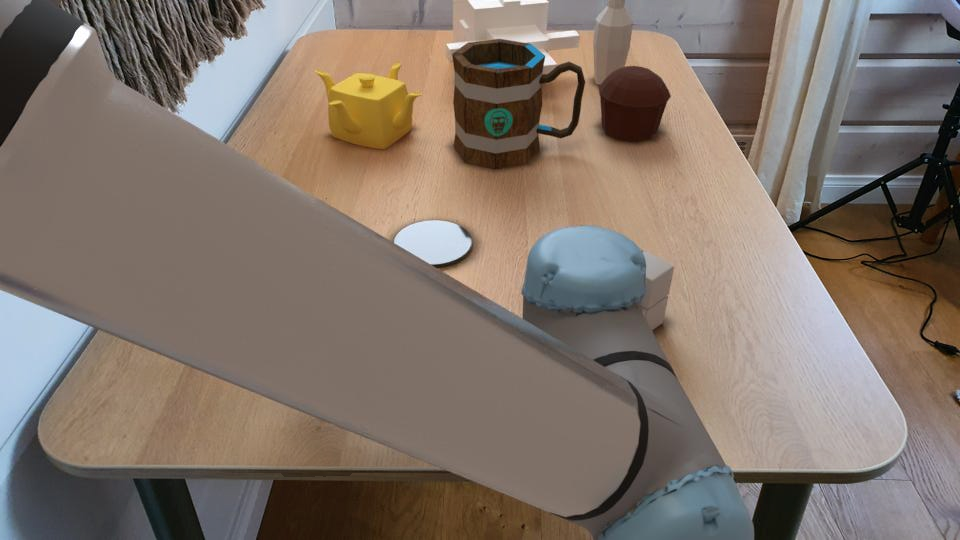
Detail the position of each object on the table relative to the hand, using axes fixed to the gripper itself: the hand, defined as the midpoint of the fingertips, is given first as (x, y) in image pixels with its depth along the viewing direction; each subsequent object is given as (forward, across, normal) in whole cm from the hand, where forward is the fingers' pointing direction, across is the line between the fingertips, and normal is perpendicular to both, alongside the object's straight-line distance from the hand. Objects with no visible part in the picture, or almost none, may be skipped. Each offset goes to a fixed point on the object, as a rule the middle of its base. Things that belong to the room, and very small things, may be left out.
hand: (273, 260), depth 70 cm
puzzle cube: (-22, +24, -12) cm, 35 cm away
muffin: (-3, +70, -12) cm, 71 cm away
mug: (+8, +53, -12) cm, 55 cm away
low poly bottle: (+10, +85, -12) cm, 86 cm away
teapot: (+30, +43, -13) cm, 54 cm away
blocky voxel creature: (+27, +77, -12) cm, 83 cm away
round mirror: (+1, +25, -12) cm, 28 cm away
